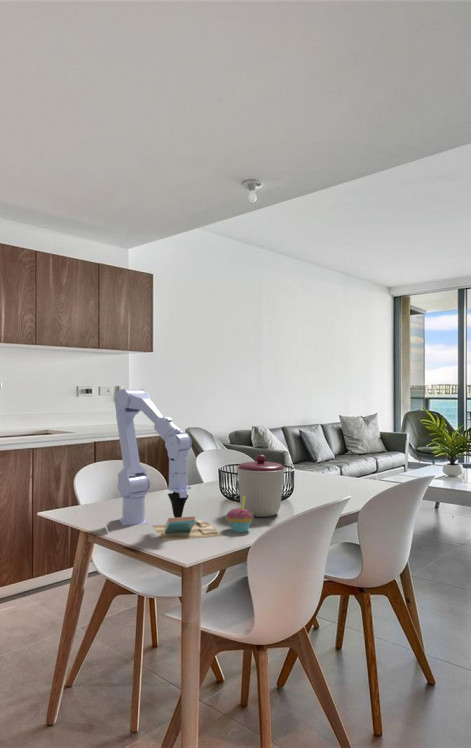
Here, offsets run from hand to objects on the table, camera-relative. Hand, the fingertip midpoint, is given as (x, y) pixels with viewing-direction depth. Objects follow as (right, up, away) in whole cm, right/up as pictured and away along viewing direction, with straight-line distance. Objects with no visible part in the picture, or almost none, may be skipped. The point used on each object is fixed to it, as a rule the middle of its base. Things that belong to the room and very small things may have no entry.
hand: (177, 517), depth 163 cm
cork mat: (+3, -5, +1) cm, 6 cm away
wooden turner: (+8, -5, +4) cm, 10 cm away
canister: (+27, -6, +26) cm, 38 cm away
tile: (0, -4, 0) cm, 4 cm away
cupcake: (+19, -5, +3) cm, 20 cm away
